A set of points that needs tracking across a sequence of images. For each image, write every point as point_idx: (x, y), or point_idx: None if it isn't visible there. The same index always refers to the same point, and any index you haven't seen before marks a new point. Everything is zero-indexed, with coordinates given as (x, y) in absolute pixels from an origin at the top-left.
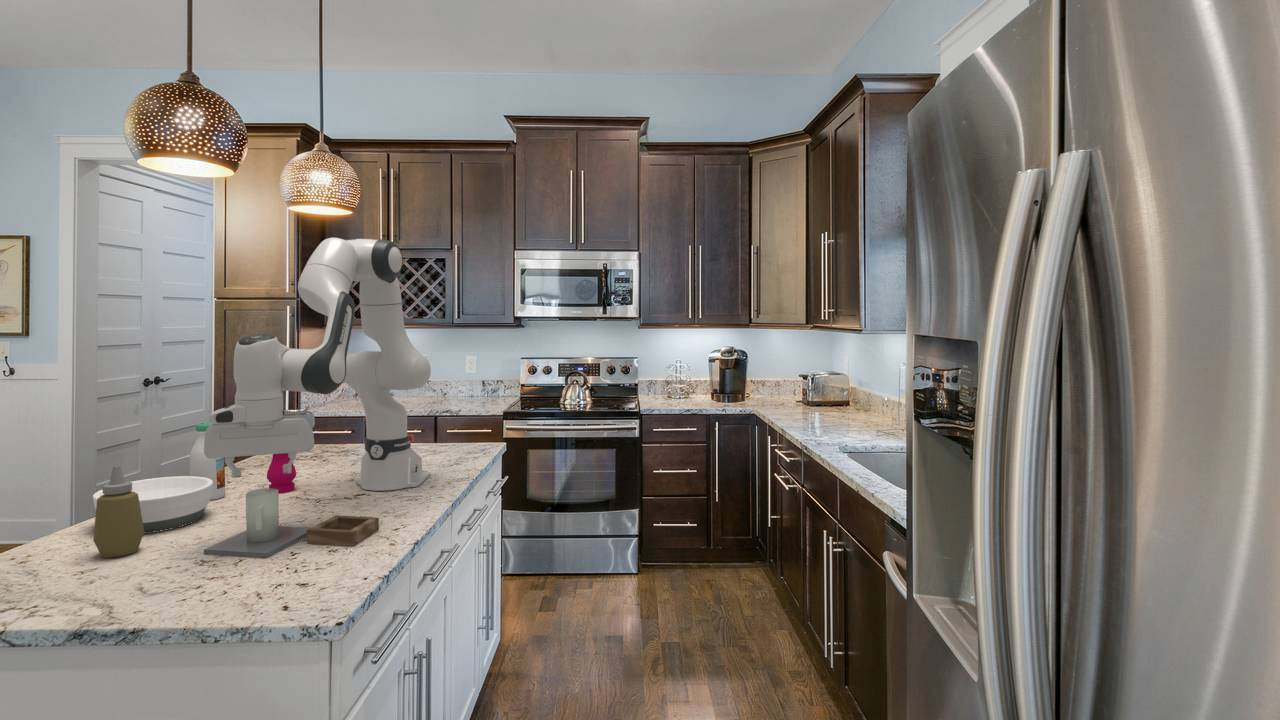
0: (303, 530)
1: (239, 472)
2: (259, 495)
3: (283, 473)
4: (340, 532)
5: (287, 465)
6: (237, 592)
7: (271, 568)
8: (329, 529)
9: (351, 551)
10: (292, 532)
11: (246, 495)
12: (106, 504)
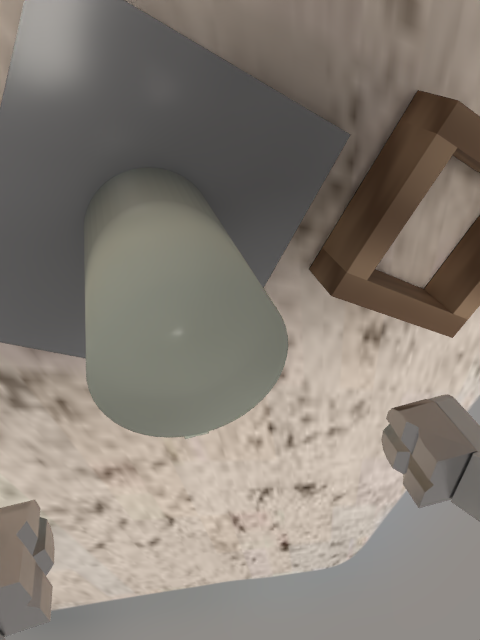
0: (301, 162)
1: (50, 587)
2: (197, 430)
3: (383, 441)
4: (423, 326)
5: (454, 501)
6: (194, 518)
7: (234, 429)
8: (400, 300)
9: (413, 345)
10: (260, 183)
11: (108, 414)
12: None
